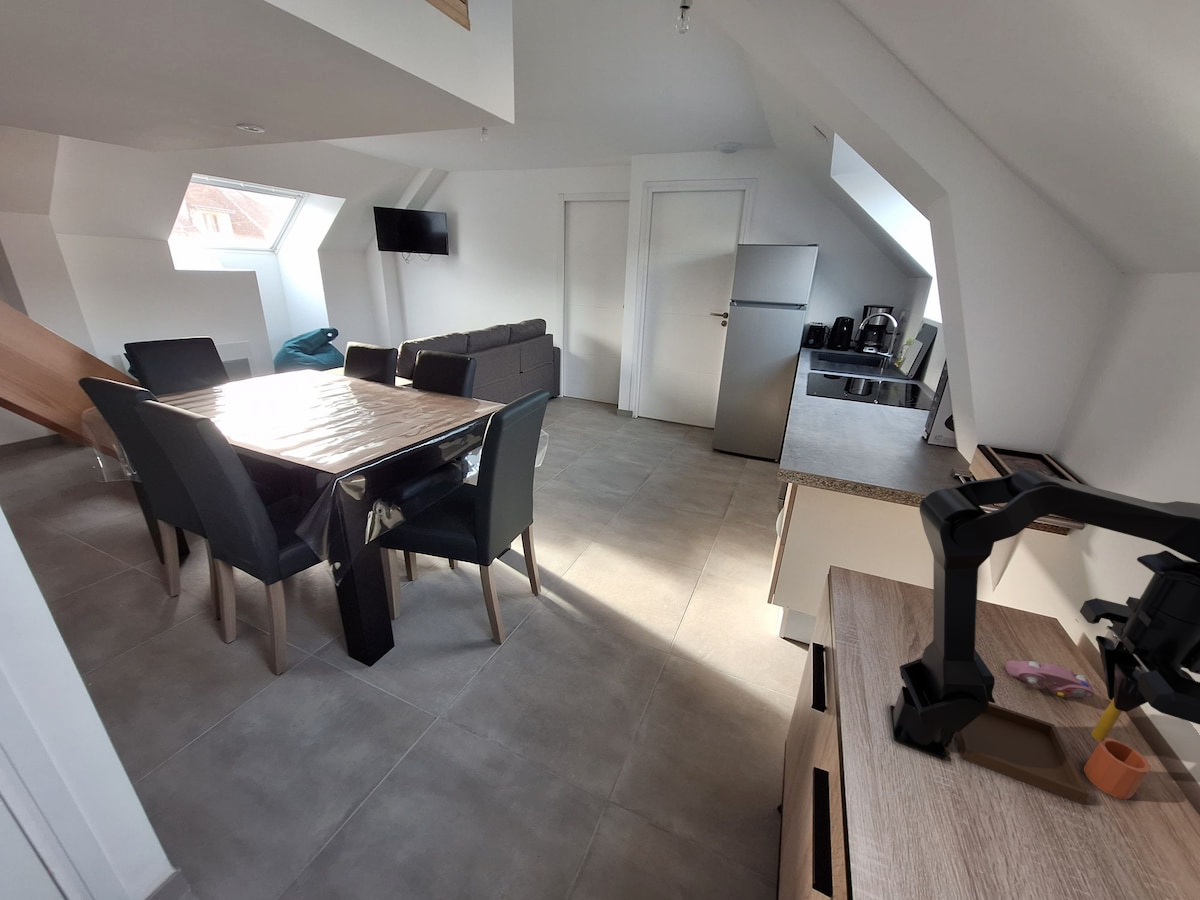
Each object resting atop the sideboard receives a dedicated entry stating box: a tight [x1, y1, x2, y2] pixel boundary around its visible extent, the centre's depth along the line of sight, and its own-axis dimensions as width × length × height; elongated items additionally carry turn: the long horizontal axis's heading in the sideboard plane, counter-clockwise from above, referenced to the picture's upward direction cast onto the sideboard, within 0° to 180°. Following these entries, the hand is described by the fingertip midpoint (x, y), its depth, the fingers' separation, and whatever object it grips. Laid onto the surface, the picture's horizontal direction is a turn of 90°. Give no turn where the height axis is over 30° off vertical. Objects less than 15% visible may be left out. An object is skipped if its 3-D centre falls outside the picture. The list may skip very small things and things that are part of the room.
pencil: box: [1091, 698, 1123, 742], centre depth 60 cm, size 1×1×9 cm
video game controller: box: [1005, 659, 1095, 699], centre depth 76 cm, size 10×5×7 cm, turn 65°
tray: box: [954, 702, 1090, 805], centre depth 67 cm, size 13×11×2 cm
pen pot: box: [1083, 737, 1152, 800], centre depth 62 cm, size 5×5×6 cm
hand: (1117, 704), depth 59 cm, fingers closed on pencil, 1 cm apart
